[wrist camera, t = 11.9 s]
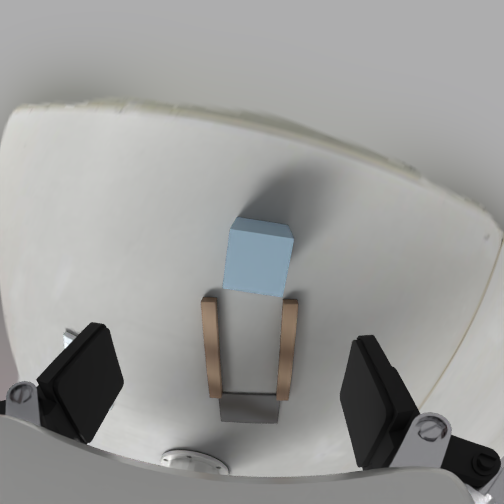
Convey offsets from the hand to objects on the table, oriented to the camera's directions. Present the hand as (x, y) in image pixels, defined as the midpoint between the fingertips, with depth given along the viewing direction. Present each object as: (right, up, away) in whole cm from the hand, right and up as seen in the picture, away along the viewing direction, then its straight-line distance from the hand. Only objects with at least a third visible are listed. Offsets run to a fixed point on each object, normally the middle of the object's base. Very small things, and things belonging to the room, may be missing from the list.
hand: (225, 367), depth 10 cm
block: (+2, +5, +19) cm, 19 cm away
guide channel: (+1, -10, +23) cm, 25 cm away
